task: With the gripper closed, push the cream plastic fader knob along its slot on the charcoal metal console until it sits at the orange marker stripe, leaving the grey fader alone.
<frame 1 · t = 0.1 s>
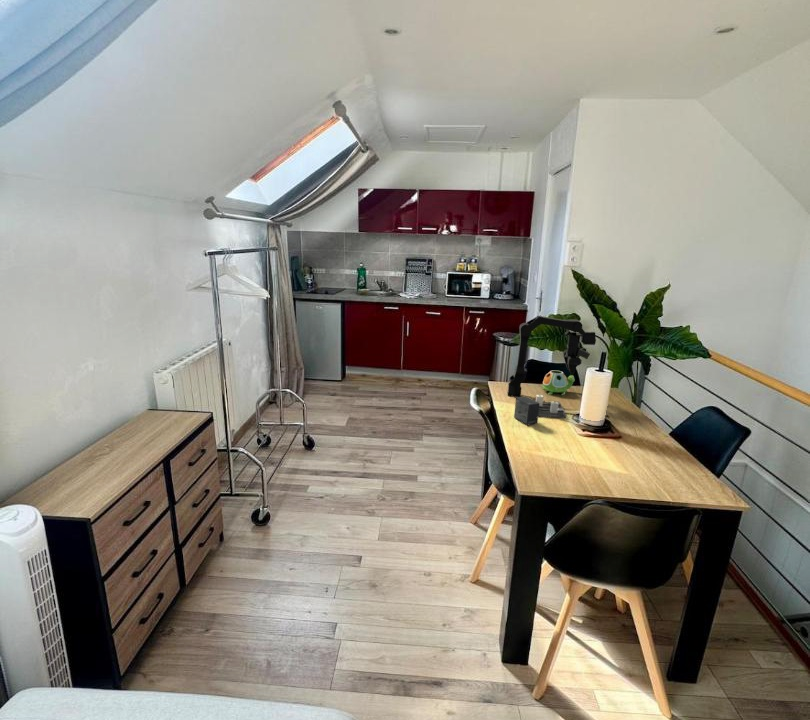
hand: (570, 372, 245), 15 cm above the table, fingers open, 9 cm apart
small box: (525, 421, 217), on the table
fader: (539, 400, 232), point 4 cm above the table, slide at 0.0 cm
console: (547, 410, 230), on the table
fader b: (554, 407, 223), point 4 cm above the table, slide at 0.0 cm
turtle holder: (556, 392, 259), on the table
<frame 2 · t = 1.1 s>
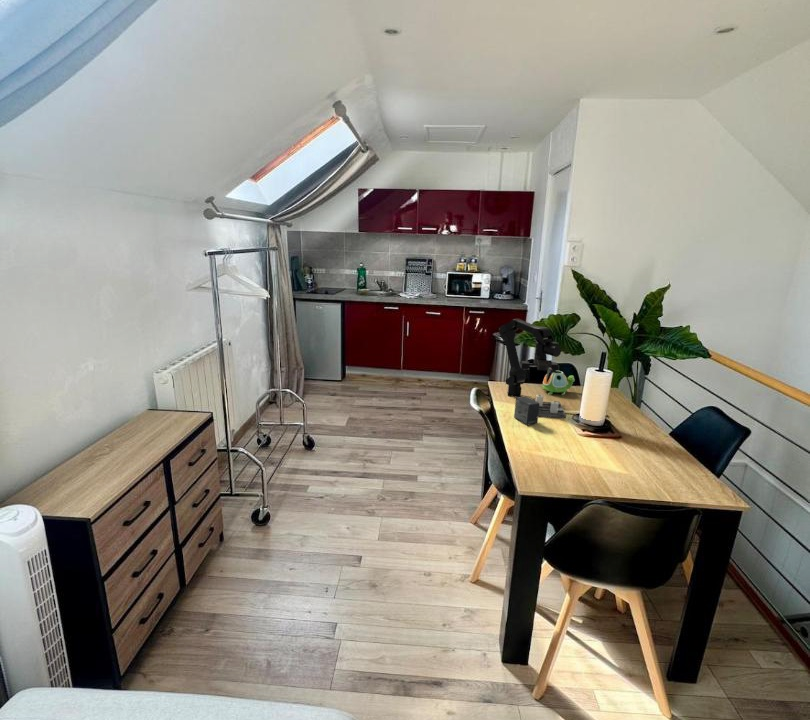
hand: (537, 381, 236), 12 cm above the table, fingers open, 9 cm apart
nothing on the table moved.
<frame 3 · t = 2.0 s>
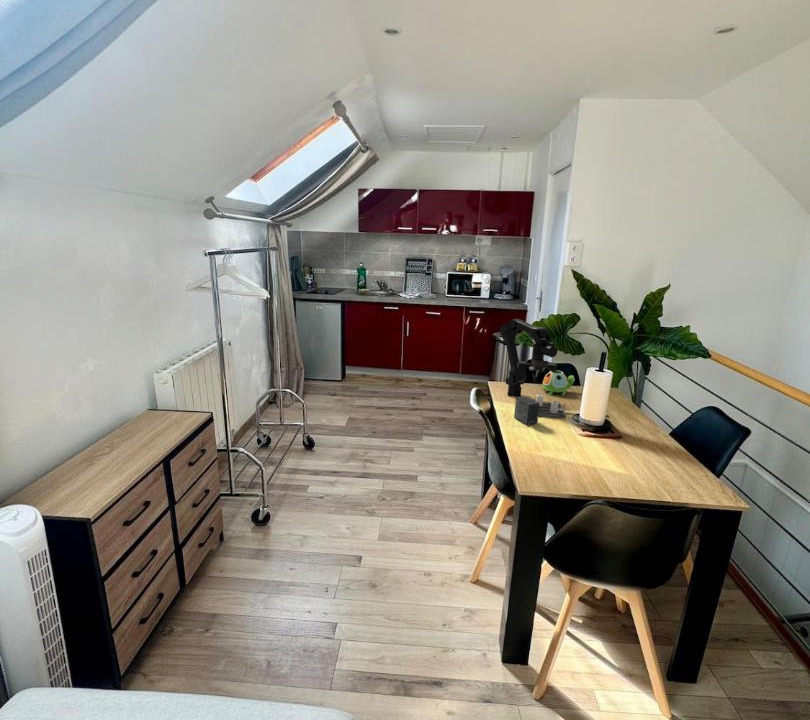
hand: (535, 382, 236), 12 cm above the table, fingers closed
nothing on the table moved.
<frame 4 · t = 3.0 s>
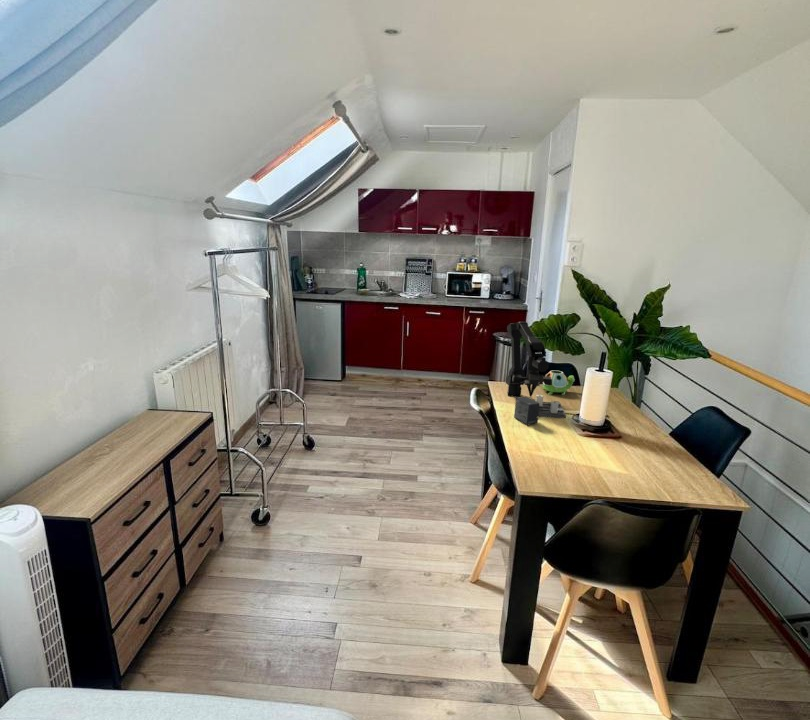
hand: (530, 395, 232), 6 cm above the table, fingers closed
nothing on the table moved.
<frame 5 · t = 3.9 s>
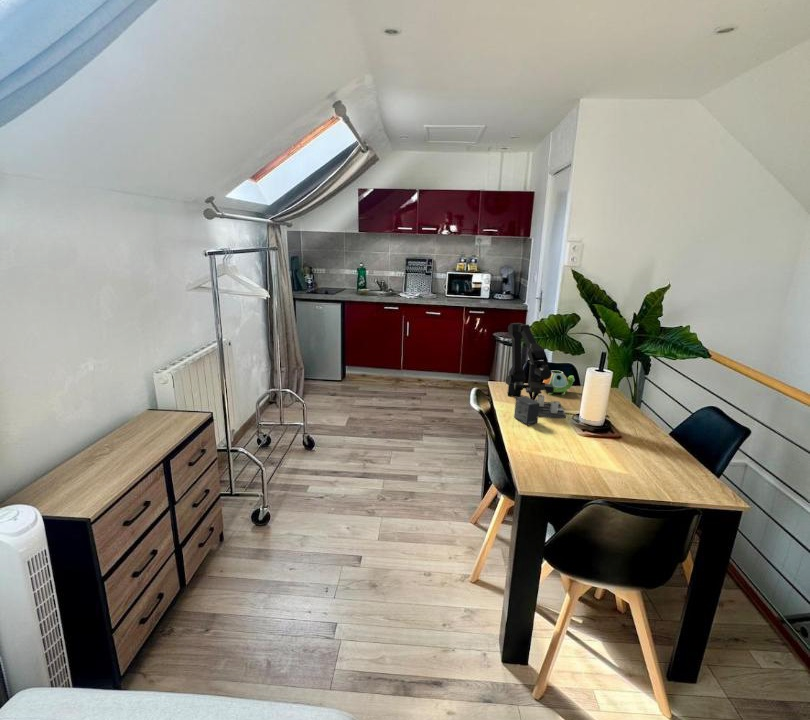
hand: (532, 403, 233), 3 cm above the table, fingers closed
fader: (540, 400, 232), point 4 cm above the table, slide at 0.6 cm, touching gripper
everything else where it was.
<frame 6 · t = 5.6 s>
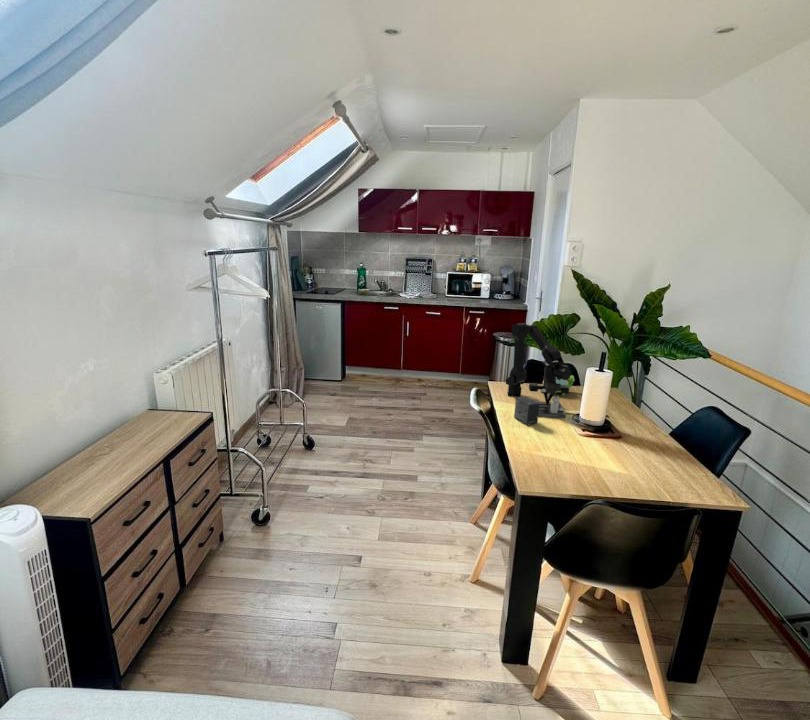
hand: (547, 404, 232), 3 cm above the table, fingers closed
fader: (555, 401, 231), point 4 cm above the table, slide at 7.9 cm, touching gripper
everything else where it was.
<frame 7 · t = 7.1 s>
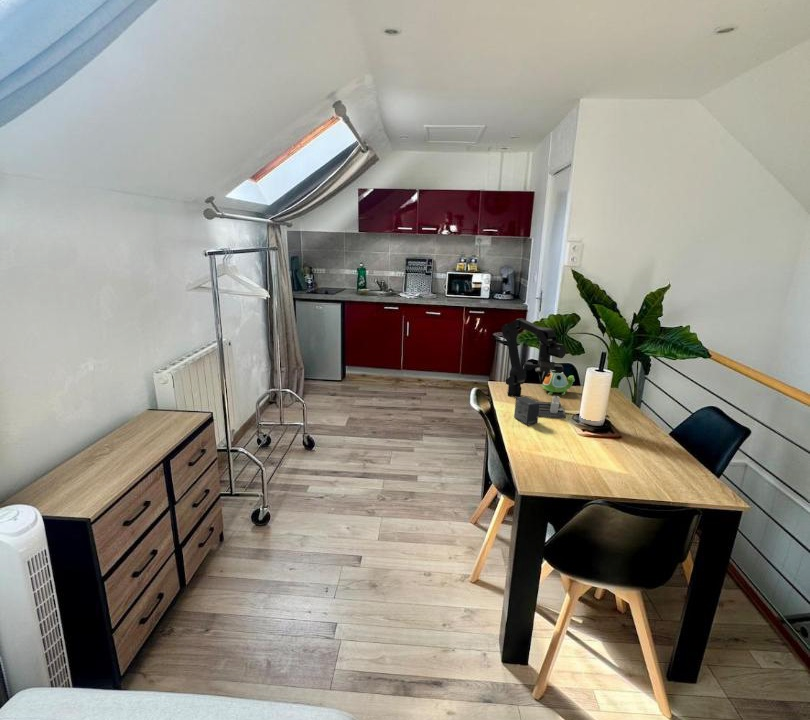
hand: (541, 383, 235), 12 cm above the table, fingers closed
fader: (555, 401, 231), point 4 cm above the table, slide at 7.9 cm
everything else where it was.
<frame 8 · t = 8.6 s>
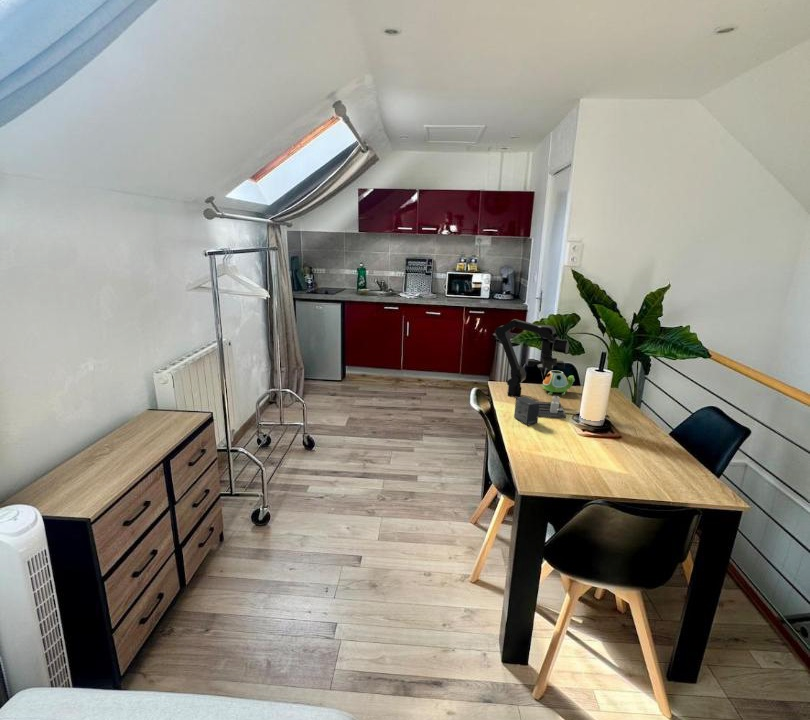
hand: (543, 379, 241), 12 cm above the table, fingers closed
nothing on the table moved.
at the end: fader slide at 7.9 cm; fader b moved 0.0 cm from its start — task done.
